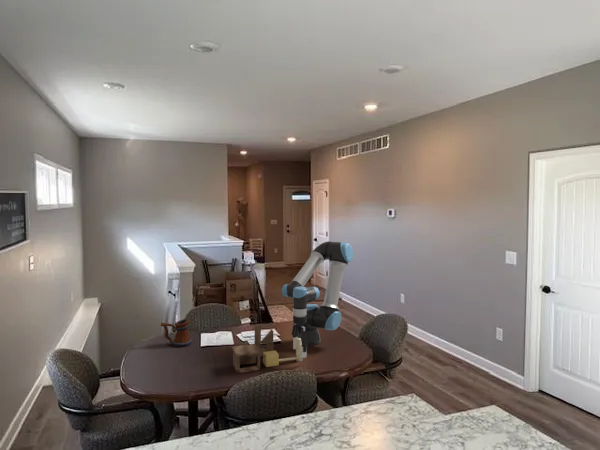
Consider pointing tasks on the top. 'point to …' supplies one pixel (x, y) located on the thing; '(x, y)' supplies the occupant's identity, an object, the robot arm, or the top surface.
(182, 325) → the mug
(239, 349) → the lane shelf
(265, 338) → the wooden block
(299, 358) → the block
